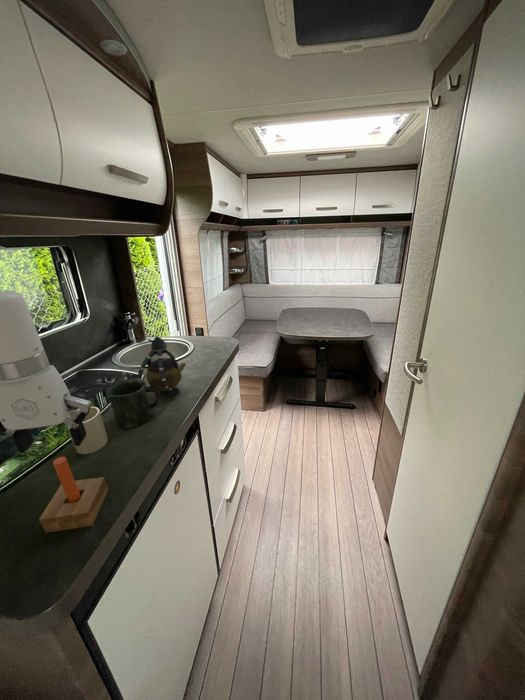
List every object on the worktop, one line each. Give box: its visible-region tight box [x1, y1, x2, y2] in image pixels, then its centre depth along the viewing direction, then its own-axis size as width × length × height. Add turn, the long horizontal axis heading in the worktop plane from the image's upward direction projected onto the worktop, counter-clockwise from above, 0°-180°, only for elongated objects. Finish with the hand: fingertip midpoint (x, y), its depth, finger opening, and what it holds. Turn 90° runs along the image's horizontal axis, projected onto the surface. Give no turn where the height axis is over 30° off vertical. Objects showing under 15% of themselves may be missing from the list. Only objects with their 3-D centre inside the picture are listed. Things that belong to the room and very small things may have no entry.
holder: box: [38, 476, 109, 534], centre depth 60 cm, size 9×9×4 cm
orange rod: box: [52, 456, 81, 503], centre depth 58 cm, size 2×2×14 cm
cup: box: [65, 406, 109, 455], centre depth 78 cm, size 8×8×10 cm
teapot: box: [136, 336, 186, 402], centre depth 103 cm, size 12×25×23 cm, turn 171°
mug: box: [105, 378, 160, 429], centre depth 89 cm, size 11×15×12 cm
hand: (54, 444), depth 54 cm, fingers open, 9 cm apart
